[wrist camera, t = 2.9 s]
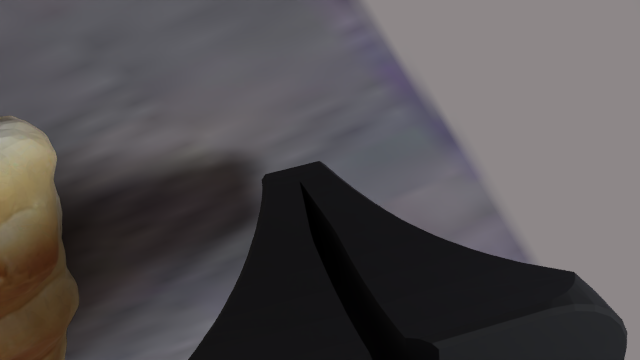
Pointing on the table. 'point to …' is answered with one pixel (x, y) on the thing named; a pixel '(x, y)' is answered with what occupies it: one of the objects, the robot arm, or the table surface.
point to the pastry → (31, 248)
